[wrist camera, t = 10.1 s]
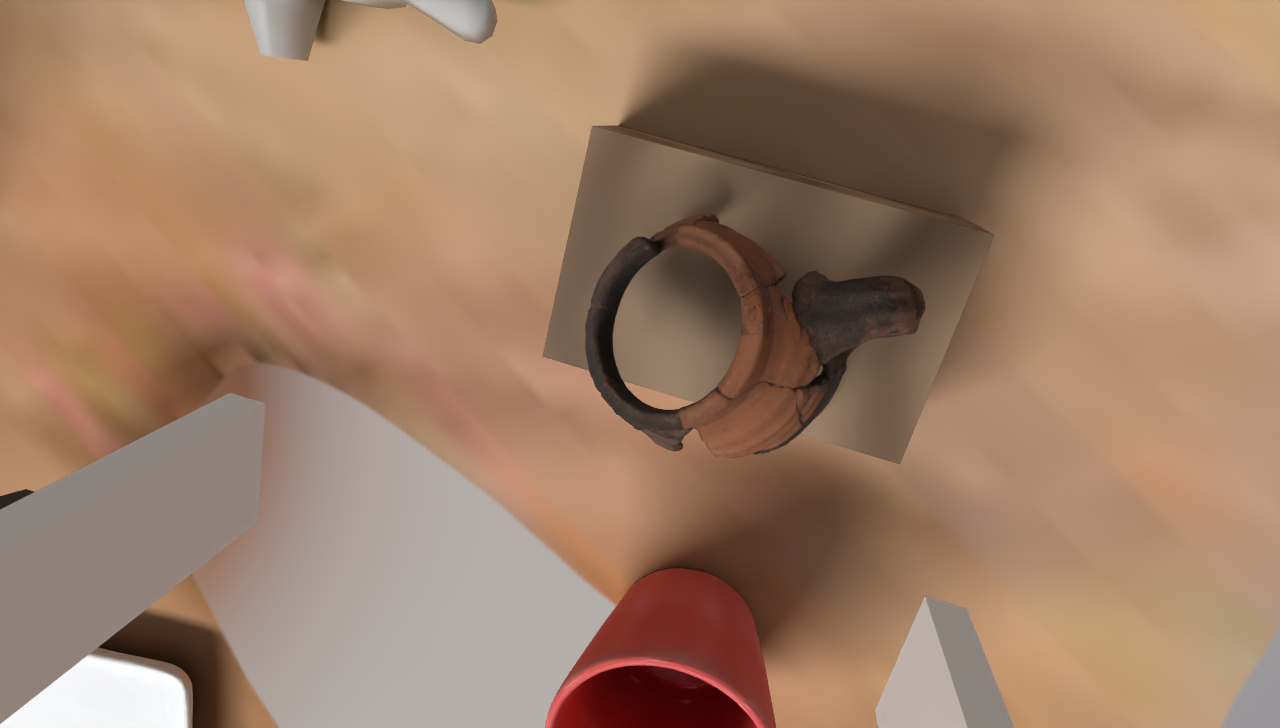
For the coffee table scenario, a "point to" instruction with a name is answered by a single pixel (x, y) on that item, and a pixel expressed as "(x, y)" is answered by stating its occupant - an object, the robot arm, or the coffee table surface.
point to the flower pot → (670, 661)
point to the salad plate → (111, 696)
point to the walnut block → (800, 242)
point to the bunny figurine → (293, 4)
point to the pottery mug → (752, 341)
